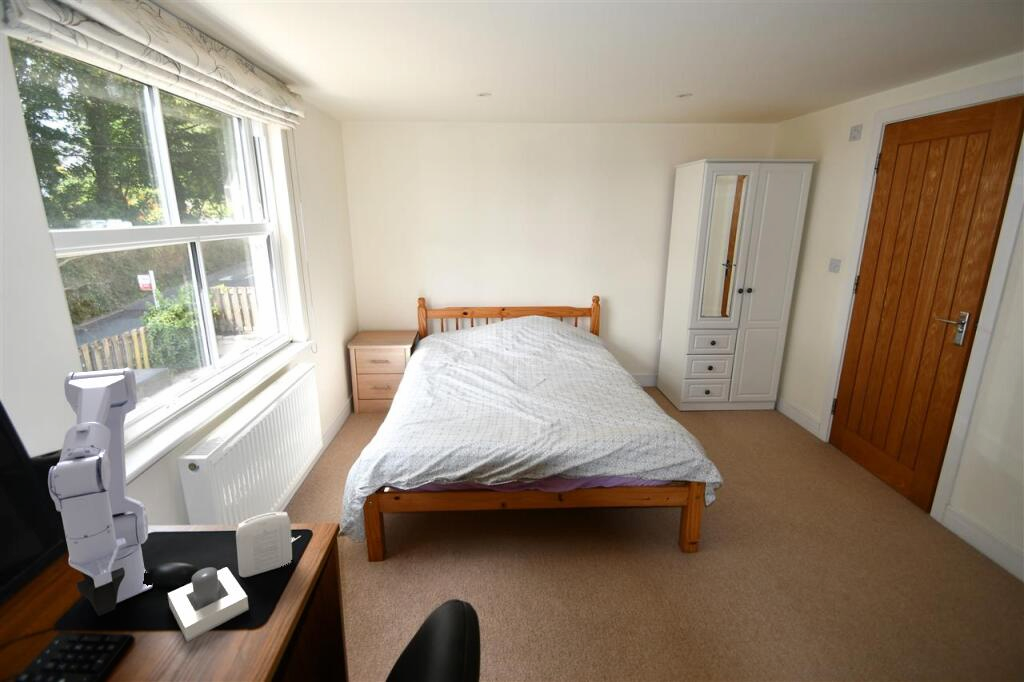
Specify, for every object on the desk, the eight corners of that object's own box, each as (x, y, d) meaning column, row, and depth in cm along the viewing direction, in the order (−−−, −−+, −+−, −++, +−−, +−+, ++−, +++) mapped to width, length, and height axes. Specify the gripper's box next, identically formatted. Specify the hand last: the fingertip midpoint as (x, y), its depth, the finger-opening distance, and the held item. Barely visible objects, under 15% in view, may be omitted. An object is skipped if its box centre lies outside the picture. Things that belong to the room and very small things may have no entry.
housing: (169, 606, 88) (167, 593, 87) (228, 579, 95) (226, 566, 95) (187, 641, 81) (185, 627, 80) (248, 609, 88) (247, 596, 88)
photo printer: (291, 552, 104) (287, 503, 101) (294, 564, 101) (291, 514, 98) (238, 568, 98) (233, 517, 96) (239, 581, 95) (234, 529, 92)
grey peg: (193, 605, 88) (189, 574, 86) (217, 594, 91) (213, 564, 89) (199, 618, 85) (194, 586, 84) (223, 606, 88) (219, 575, 86)
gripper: (131, 537, 73) (142, 609, 76) (113, 499, 82) (123, 564, 85) (70, 559, 68) (85, 635, 71) (58, 515, 77) (71, 585, 80)
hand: (102, 598), depth 78 cm, fingers open, 7 cm apart
